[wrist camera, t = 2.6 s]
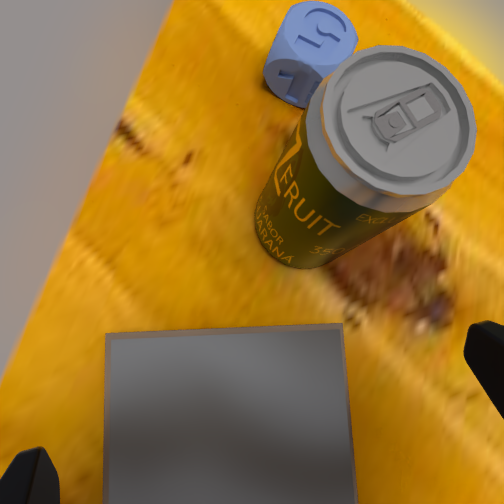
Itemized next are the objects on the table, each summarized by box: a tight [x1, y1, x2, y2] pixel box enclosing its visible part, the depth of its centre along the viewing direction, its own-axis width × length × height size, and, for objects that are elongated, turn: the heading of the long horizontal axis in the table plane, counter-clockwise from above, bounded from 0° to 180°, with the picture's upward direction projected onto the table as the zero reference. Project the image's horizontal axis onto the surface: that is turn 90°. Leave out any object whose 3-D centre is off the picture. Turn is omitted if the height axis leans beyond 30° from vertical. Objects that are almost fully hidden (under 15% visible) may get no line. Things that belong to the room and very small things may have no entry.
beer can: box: [255, 45, 477, 268], centre depth 19 cm, size 5×5×12 cm
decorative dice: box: [263, 1, 358, 108], centre depth 25 cm, size 4×4×4 cm
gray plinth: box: [103, 323, 358, 504], centre depth 21 cm, size 11×11×3 cm
